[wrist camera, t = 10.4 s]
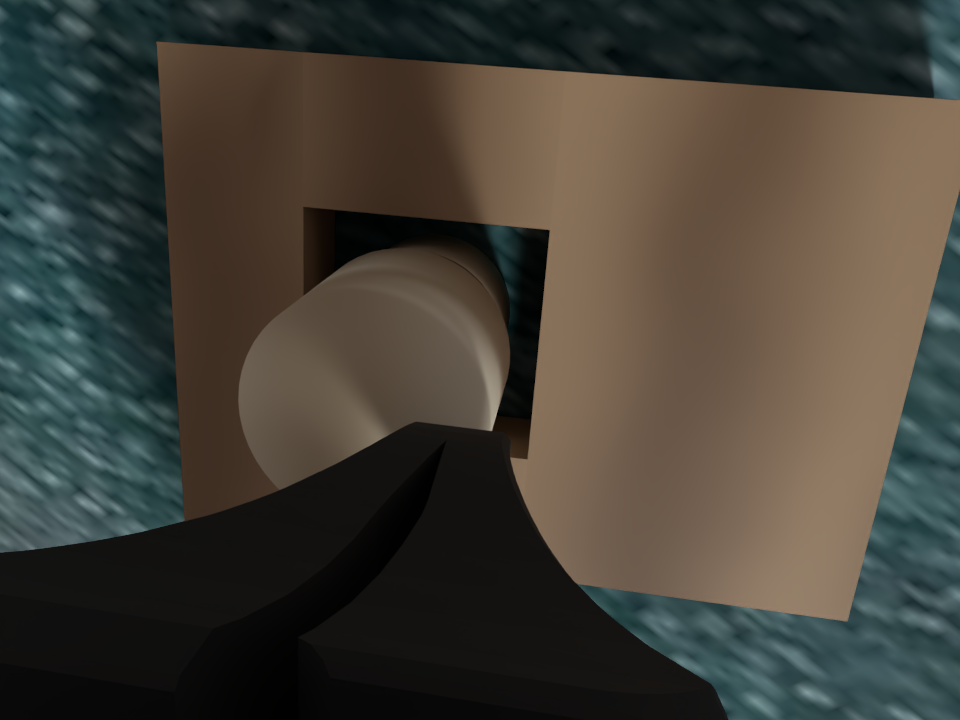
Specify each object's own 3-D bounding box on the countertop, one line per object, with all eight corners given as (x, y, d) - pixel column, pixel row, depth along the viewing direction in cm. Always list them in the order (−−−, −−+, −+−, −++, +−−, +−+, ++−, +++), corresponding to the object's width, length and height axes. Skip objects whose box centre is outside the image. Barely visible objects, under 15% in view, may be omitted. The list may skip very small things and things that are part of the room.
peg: (532, 229, 17) (500, 305, 11) (515, 400, 18) (479, 545, 13) (352, 210, 17) (235, 276, 12) (347, 380, 19) (240, 511, 13)
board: (935, 97, 15) (982, 101, 13) (822, 565, 19) (847, 621, 17) (206, 44, 17) (156, 41, 15) (223, 486, 20) (185, 529, 18)
